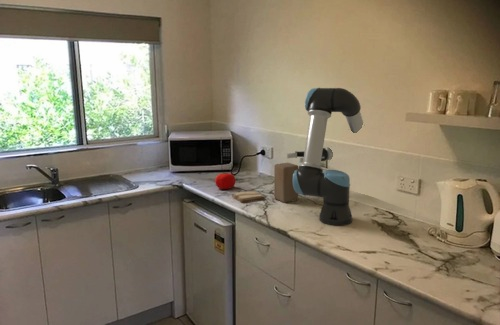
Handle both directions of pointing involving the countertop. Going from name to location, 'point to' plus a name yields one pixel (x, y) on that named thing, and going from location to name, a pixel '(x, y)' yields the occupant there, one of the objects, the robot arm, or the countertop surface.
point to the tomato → (225, 181)
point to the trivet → (248, 196)
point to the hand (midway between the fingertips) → (293, 158)
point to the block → (284, 182)
